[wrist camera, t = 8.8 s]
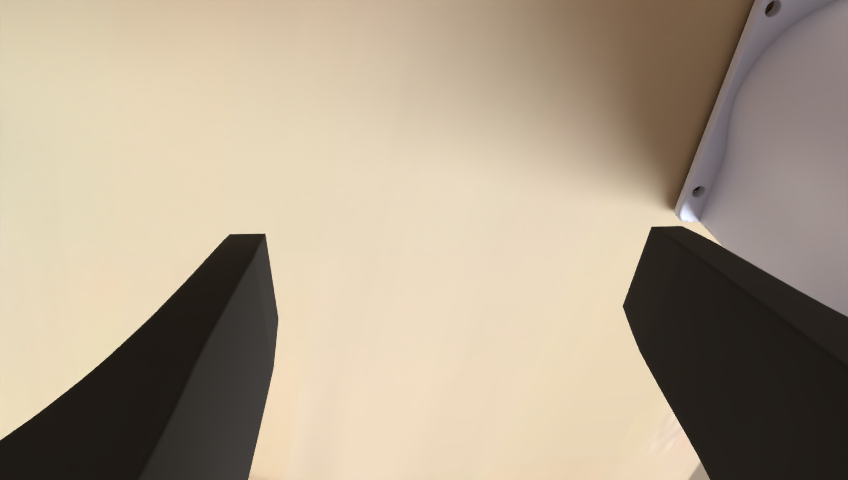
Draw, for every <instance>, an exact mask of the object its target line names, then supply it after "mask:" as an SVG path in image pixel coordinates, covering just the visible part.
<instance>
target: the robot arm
mask: <svg viewBox="0 0 848 480" xmlns="http://www.w3.org/2000/svg"><path fill="white" fill-rule="evenodd" d="M772 1H774V4H773V7H772V9H771V10H770V11H769V12H768V13H766V14H765V10H766V7H767V6H768V4H769V3H770V2H772ZM699 186H700V187H699ZM697 187H699V189H698V190H697V191H695V192H693V190H694V189H695V188H697ZM675 215H676V216H677V217H678V218H679V219H680V220H681V221H685V222H696V221H700V223H701V224H702V225H703V226H704V227H705V228H706V229H707V230H708V231H709V232H710V233H711V234H712V235H713V236H714V237H715V238H716V240H717V241H718V242H719V243H720V244H721V245H722V246H723V247H724V248H723V247H722V246H720V245H718V244H716V243H714V242H713V241H711V240H709V239H707V238H705V237H703V236H701V235H699V234H697V233H695V232H693V231H691V230H689V229H687V228H685V227H682V226H667V227H651V230H650V233H649V235H648V238H647V241H646V244H645V246H644V249H643V252H642V255H641V258H640V260H639V263H638V266H637V269H636V271H635V274H634V277H633V280H632V282H631V285H630V288H629V291H628V293H627V296H626V299H625V302H624V304H623V308H624V311H625V314H626V317H627V320H628V322H629V325H630V328H631V331H632V333H633V336H634V338H635V341H636V343H637V345H638V348H639V350H640V352H641V354H642V356H643V358H644V360H645V362H646V364H647V366H648V367H649V369H650V371H651V373H652V375H653V376H654V378H655V380H656V382H657V384H658V386H659V387H660V389H661V391H662V393H663V394H664V396H665V398H666V400H667V402H668V403H669V405H670V407H671V409H672V410H673V412H674V414H675V416H676V417H677V419H678V421H679V423H680V425H681V426H682V428H683V430H684V432H685V433H686V435H687V437H688V439H689V440H690V442H691V444H692V446H693V448H694V449H695V451H696V453H697V455H698V457H699V459H700V461H701V462H702V464H703V466H704V468H705V470H706V472H707V474H708V476H709V478H710V480H848V0H755V2H754V4H753V7H752V9H751V12H750V15H749V17H748V20H747V22H746V25H745V28H744V30H743V33H742V35H741V38H740V41H739V43H738V46H737V48H736V51H735V54H734V56H733V59H732V61H731V64H730V67H729V69H728V72H727V74H726V77H725V80H724V82H723V85H722V87H721V90H720V93H719V95H718V98H717V100H716V103H715V106H714V108H713V111H712V113H711V116H710V119H709V121H708V124H707V126H706V129H705V132H704V134H703V137H702V139H701V142H700V145H699V147H698V150H697V152H696V155H695V158H694V160H693V163H692V165H691V168H690V171H689V173H688V176H687V178H686V181H685V184H684V186H683V189H682V191H681V194H680V197H679V199H678V202H677V204H676V207H675ZM277 327H278V314H277V307H276V300H275V294H274V287H273V281H272V274H271V268H270V261H269V255H268V248H267V242H266V235H265V234H230V235H229V236H228V237H227V238H226V239H225V240H224V241H223V242H222V243H221V244H220V245H219V246H218V247H217V248H216V249H215V250H214V251H213V252H212V253H211V254H210V256H209V257H208V258H207V259H206V260H205V261H204V262H203V263H202V264H201V265H200V267H199V268H198V269H197V270H196V271H195V272H194V273H193V274H192V275H191V276H190V277H189V278H188V279H187V281H186V282H185V283H184V284H183V285H182V286H181V287H180V288H179V289H178V290H177V291H176V292H175V293H174V294H173V295H172V296H171V297H170V298H169V299H168V300H167V301H166V302H165V303H164V304H163V305H162V306H161V307H160V308H159V309H158V311H157V312H156V313H155V314H154V315H153V316H152V317H151V318H149V319H148V320H147V321H146V322H145V323H144V324H143V325H142V326H141V327H140V328H139V329H138V330H137V331H136V332H135V333H134V334H132V335H131V336H130V337H129V338H128V339H127V340H126V341H125V342H124V343H123V344H122V345H121V346H120V347H118V348H117V349H116V350H115V351H114V352H113V353H112V354H111V355H110V356H109V357H108V358H106V359H105V360H104V361H103V362H102V363H101V364H100V365H98V366H97V367H96V368H95V369H94V370H93V371H91V372H90V373H89V374H88V375H87V376H85V377H84V378H83V379H82V380H80V381H79V382H78V383H77V384H75V385H74V386H73V387H72V388H70V389H69V390H68V391H67V392H65V393H64V394H63V395H61V396H60V397H59V398H58V399H56V400H55V401H54V402H53V403H51V404H50V405H49V406H48V407H46V408H45V409H44V410H42V411H41V412H40V413H38V414H37V415H36V416H34V417H33V418H32V419H30V420H29V421H27V422H26V423H24V424H23V425H22V426H20V427H19V428H17V429H16V430H14V431H13V432H12V433H10V434H9V435H7V436H6V437H5V438H3V439H2V440H0V480H248V478H249V473H250V469H251V465H252V460H253V456H254V452H255V447H256V443H257V439H258V434H259V430H260V425H261V421H262V417H263V412H264V408H265V404H266V399H267V395H268V390H269V386H270V381H271V377H272V372H273V367H274V358H275V348H276V338H277Z"/></svg>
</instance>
